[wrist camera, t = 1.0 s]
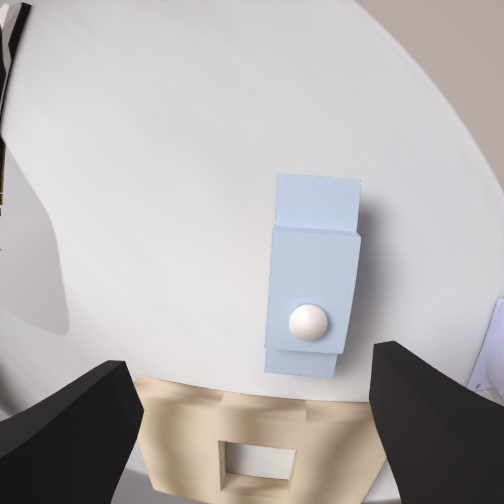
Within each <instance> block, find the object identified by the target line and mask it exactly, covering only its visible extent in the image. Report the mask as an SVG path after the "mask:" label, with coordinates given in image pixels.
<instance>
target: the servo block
mask: <svg viewBox="0 0 504 504" xmlns="http://www.w3.org/2000/svg"><path fill="white" fill-rule="evenodd" d="M360 186H361V180H354V179H344V178H333V177H322V176H309V175H295V174H280V173H277V189H276V208H275V225H274V228H273V230H272V243H271V260H270V276H269V292H268V307H267V322H266V336H265V348H266V360H265V372H266V373H276V374H287V375H299V376H313V377H331V378H333V375H334V371H335V366H336V361H337V356H338V354H343V350H344V345H345V340H346V335H347V330H348V324H349V319H350V313H351V307H352V301H353V295H354V289H355V282H356V275H357V268H358V260H359V253H360V244H361V236H360V235H359V234H358V233H357V232H356V231H357V221H358V211H359V199H360Z"/></svg>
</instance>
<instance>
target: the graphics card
mask: <svg viewBox="0 0 504 504" xmlns="http://www.w3.org/2000/svg"><path fill="white" fill-rule="evenodd" d="M30 7H31V5H29V4H26V3H24V2H23V3H15V4H4V6H3V7H0V121H1V115H2V109H3V103H4V98H5V93H6V88H7V83H8V79H9V75H10V70H11V66H12V63H13V59H14V55H15V51H16V47H17V44H18V41H19V38H20V34H21V31H22V29H23V26H24V23H25V20H26V17H27V15H28V12H29V9H30ZM6 80H7V81H6ZM5 152H6V143H5V141H4V139H3V138H2V136H1V134H0V205H3V194H1V193H3V182H4V165H5ZM0 216H1V208H0ZM0 250H1V249H0Z"/></svg>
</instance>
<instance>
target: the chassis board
mask: <svg viewBox="0 0 504 504" xmlns="http://www.w3.org/2000/svg"><path fill="white" fill-rule="evenodd" d="M133 384H134V386H135V389H136V391H137V393H138V396H139V398H140V401H141V403H142V405H143V408H144V414H143V419H142V423H141V427H140V430H139V434H138V437H137V438H138V441H139V445H140V448H141V452H142V455H143V458H144V461H145V464H146V468H147V471H148V474H149V477H150V480H151V482H152V485H153V488H154V490H158V491H161V492H165V493H168V494H172V495H176V496H180V497H184V498H188V499H192V500H196V501H201V502H206V503H211V504H361V502H362V501H363V499H364V497H365V496H366V494H367V492H368V491H369V489H370V487H371V485H372V484H373V482H374V480H375V478H376V477H377V475H378V473H379V471H380V469H381V467H382V465H383V464H384V462H385V460H386V458H387V456H386V454H385V451H384V448H383V446H382V443H381V440H380V438H379V435H378V432H377V430H376V427H375V423H374V418H373V414H372V410H371V406H370V402H332V401H312V400H298V399H286V398H275V397H265V396H256V395H248V394H241V393H233V392H226V391H220V390H214V389H207V388H202V387H196V386H190V385H185V384H180V383H175V382H170V381H165V380H161V379H156V378H152V377H147V376H143V375H139V376H138V378H137V379H136V380H135V382H134V383H133ZM226 441H227V442H233V443H240V444H247V445H255V446H263V447H272V448H283V449H296V452H295V457H294V461H293V465H292V470H291V474H290V478H289V480H282V479H271V478H261V477H253V476H246V475H239V474H232V473H226Z"/></svg>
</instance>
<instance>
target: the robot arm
mask: <svg viewBox="0 0 504 504" xmlns="http://www.w3.org/2000/svg"><path fill="white" fill-rule="evenodd" d="M476 385H477V386H476ZM488 389H496V390H497V392H498V393H499V395H500V396H501V398H502V399H503V400H504V297H502V298H500V299H498V301H497V303H496V306H495V309H494V313H493V316H492V319H491V322H490V326H489V329H488V332H487V335H486V338H485V341H484V344H483V346H482V349H481V352H480V355H479V357H478V360H477V362H476V365H475V367H474V370H473V372H472V375H471V377H470V380H469V382H468V384H467V388H466V387H464V386H462V385H460V384H459V383H457V382H455V381H454V380H452V379H451V378H449V377H447V376H446V375H444V374H443V373H441V372H440V371H438V370H437V369H435V368H434V367H432V366H431V365H429V364H428V363H426V362H425V361H423V360H422V359H420V358H419V357H418V356H416V355H415V354H413V353H412V352H410V351H409V350H408V349H406V348H405V347H403V346H402V345H400V344H399V343H397V342H395V341H389V342H384V343H378V344H374V348H373V361H372V373H371V383H370V392H369V401H370V406H371V410H372V414H373V418H374V423H375V427H376V430H377V432H378V435H379V438H380V440H381V443H382V446H383V448H384V451H385V454H386V456H387V459H388V462H389V465H390V467H391V470H392V473H393V476H394V478H395V481H396V484H397V487H398V490H399V494H400V497H401V502H402V504H504V406H502V405H500V404H497V403H495V402H493V401H491V400H488V399H486V398H484V397H482V396H480V395H478V394H476V393H475V392H473V391H480V390H488ZM143 414H144V408H143V405H142V403H141V401H140V398H139V396H138V393H137V391H136V389H135V386H134V384H133V381H132V378H131V376H130V373H129V371H128V368H127V365H126V363H125V361H114V360H108V361H106V362H104V363H102V364H100V365H99V366H97V367H95V368H93V369H92V370H90V371H89V372H87V373H85V374H84V375H82V376H81V377H79V378H78V379H76V380H75V381H73V382H71V383H70V384H68V385H67V386H65V387H64V388H62V389H60V390H59V391H57V392H56V393H54V394H52V395H51V396H49V397H47V398H46V399H44V400H42V401H41V402H39V403H37V404H35V405H34V406H32V407H30V408H28V409H27V410H25V411H23V412H21V413H19V414H17V415H14V416H12V417H10V418H8V419H6V420H3V421H1V422H0V504H111V500H112V497H113V494H114V492H115V489H116V487H117V484H118V482H119V480H120V477H121V475H122V473H123V470H124V468H125V466H126V463H127V461H128V459H129V456H130V454H131V452H132V449H133V447H134V444H135V442H136V440H137V437H138V434H139V430H140V427H141V423H142V419H143Z"/></svg>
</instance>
